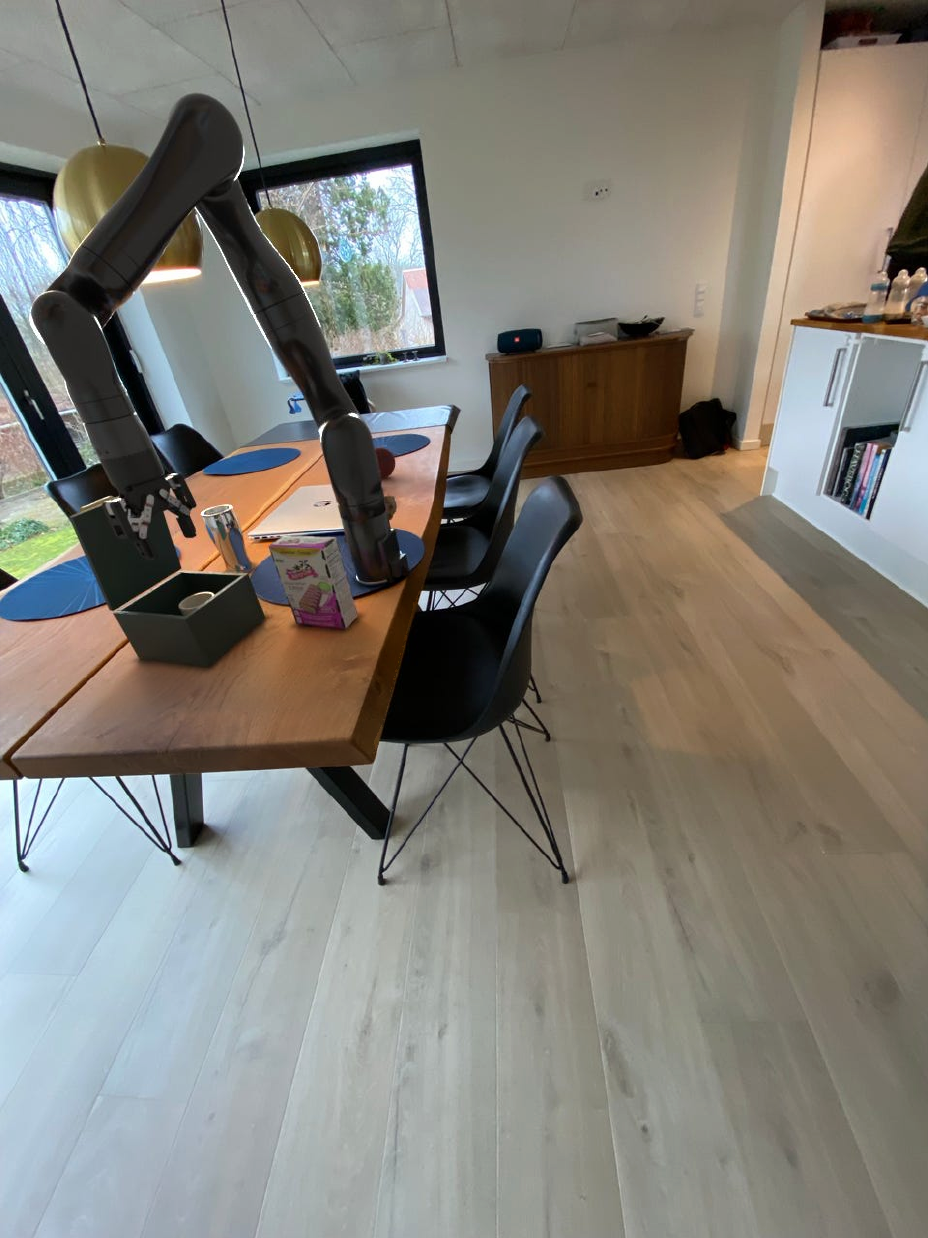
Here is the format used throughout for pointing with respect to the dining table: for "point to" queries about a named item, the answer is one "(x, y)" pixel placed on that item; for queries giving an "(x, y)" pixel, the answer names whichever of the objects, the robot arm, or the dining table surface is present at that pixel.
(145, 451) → the robot arm
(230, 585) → the open lidded box
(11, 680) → the dining table surface
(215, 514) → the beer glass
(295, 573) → the candy bar box
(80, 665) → the dining table surface
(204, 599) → the cup
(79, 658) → the dining table surface
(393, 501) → the lion figurine
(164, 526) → the lid
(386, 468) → the decorative ball
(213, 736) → the dining table surface
